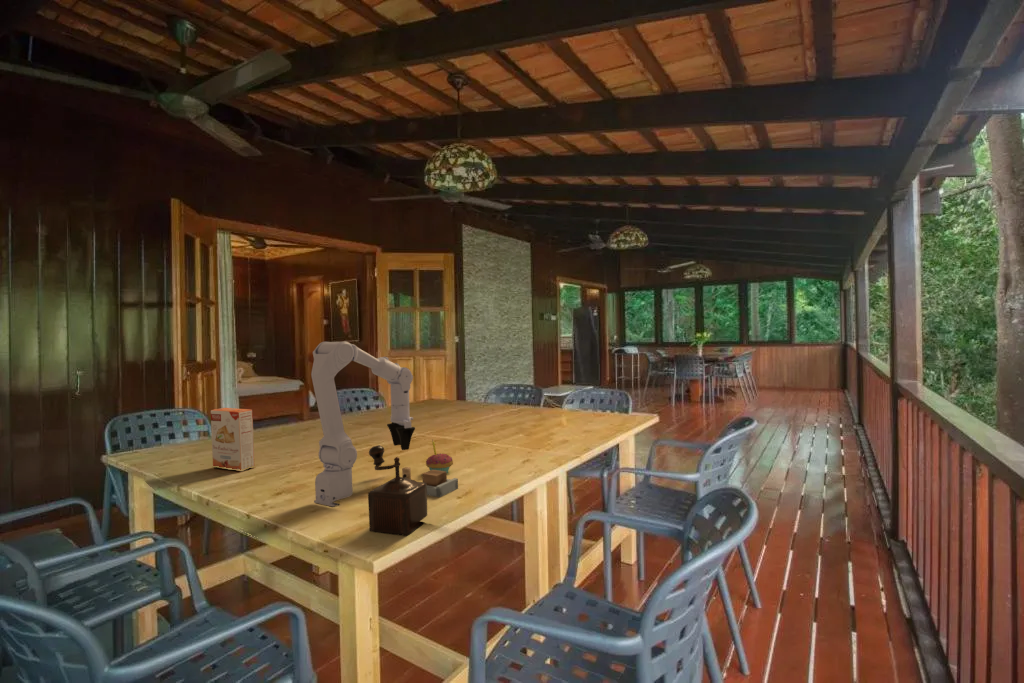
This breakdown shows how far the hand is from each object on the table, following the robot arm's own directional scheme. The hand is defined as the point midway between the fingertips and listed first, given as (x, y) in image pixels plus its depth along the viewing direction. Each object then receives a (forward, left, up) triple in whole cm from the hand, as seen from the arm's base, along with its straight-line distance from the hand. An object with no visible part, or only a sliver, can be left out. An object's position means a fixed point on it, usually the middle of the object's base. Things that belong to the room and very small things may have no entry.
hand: (401, 447), depth 158 cm
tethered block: (-8, -15, -8) cm, 19 cm away
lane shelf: (-8, -16, -10) cm, 20 cm away
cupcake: (+7, -10, -10) cm, 16 cm away
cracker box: (-17, +62, -10) cm, 65 cm away
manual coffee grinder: (-30, -24, -10) cm, 40 cm away
